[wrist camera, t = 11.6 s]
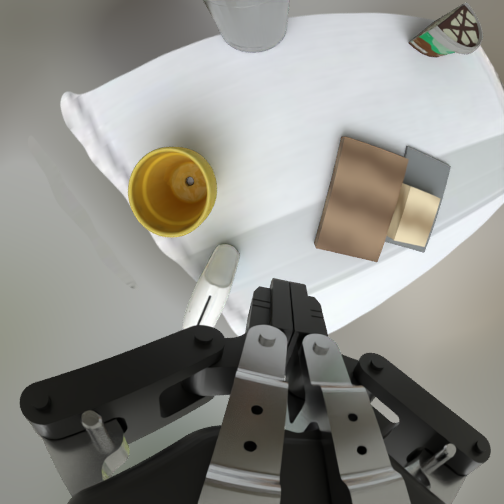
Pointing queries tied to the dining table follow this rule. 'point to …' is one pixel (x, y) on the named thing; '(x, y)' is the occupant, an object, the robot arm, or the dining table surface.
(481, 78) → the dining table surface
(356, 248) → the brown wooden block
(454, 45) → the food container
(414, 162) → the mat
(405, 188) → the cream flat block
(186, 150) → the plant pot
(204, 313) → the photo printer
